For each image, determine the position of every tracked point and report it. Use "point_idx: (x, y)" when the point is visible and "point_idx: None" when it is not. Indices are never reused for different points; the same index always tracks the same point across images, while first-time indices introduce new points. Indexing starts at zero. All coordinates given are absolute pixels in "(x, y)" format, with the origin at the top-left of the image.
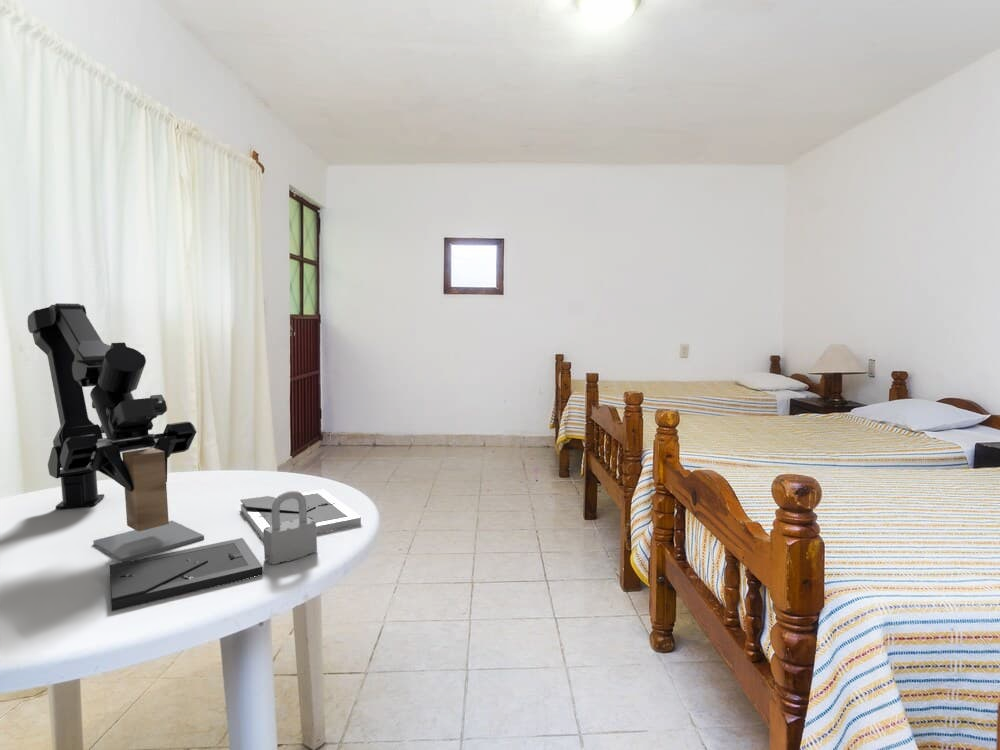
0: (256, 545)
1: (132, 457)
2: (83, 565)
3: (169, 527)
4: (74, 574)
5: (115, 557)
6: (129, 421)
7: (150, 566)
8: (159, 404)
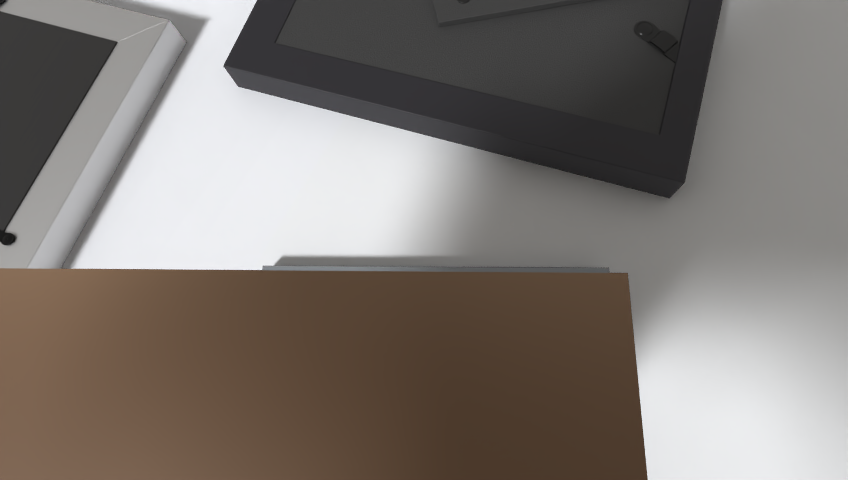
0: (210, 57)
1: (626, 331)
2: (736, 382)
3: None
4: (782, 301)
5: None
6: None
7: (570, 55)
8: None
